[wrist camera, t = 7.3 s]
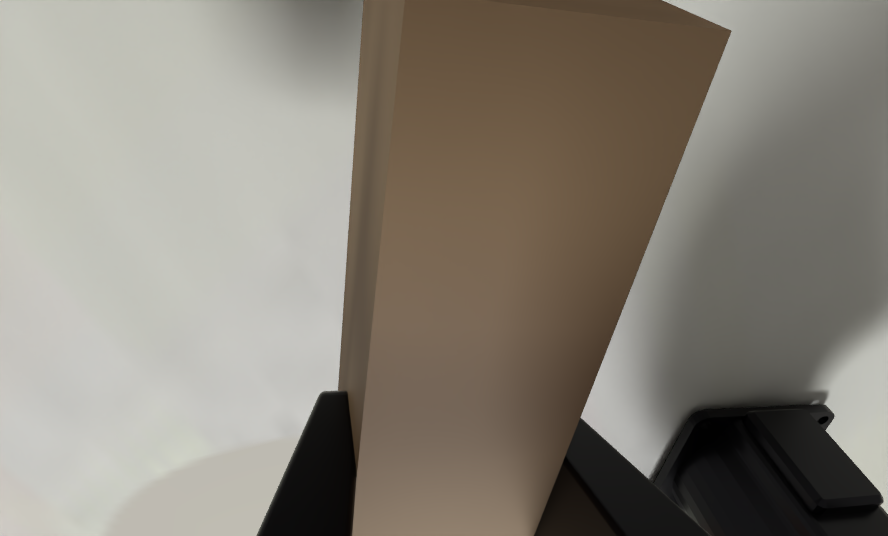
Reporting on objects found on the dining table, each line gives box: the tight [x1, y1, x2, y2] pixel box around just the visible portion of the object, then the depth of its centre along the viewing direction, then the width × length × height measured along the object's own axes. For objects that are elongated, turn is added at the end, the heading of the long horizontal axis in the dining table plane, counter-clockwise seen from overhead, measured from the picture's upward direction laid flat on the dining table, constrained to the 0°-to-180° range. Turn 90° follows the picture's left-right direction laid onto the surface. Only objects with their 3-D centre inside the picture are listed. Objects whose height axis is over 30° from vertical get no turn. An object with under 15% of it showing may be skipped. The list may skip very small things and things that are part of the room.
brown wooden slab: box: [338, 0, 731, 536], centre depth 7 cm, size 13×5×3 cm, turn 171°
